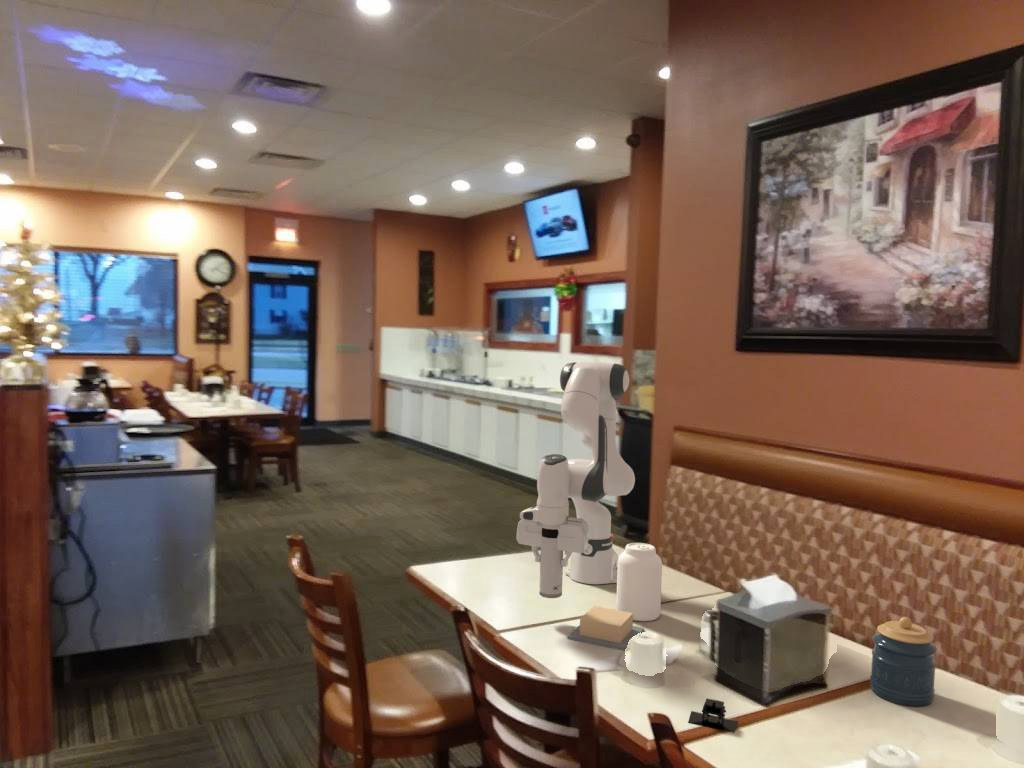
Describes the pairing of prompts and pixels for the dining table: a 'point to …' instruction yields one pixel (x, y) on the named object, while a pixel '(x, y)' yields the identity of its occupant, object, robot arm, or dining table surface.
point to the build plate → (713, 717)
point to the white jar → (639, 582)
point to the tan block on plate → (606, 628)
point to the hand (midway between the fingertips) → (551, 563)
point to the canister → (903, 663)
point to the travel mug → (550, 565)
